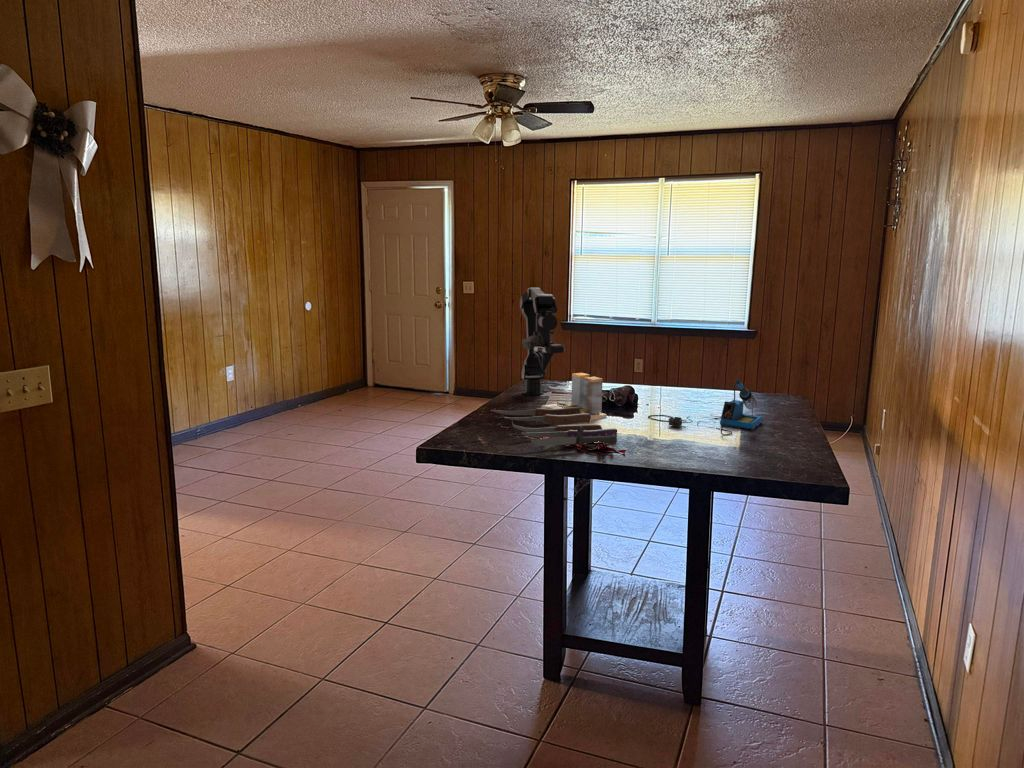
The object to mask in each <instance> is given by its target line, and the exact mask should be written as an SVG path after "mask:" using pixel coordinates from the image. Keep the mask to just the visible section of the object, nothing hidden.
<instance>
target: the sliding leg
mask: <svg viewBox="0 0 1024 768" xmlns="http://www.w3.org/2000/svg"><path fill="white" fill-rule="evenodd" d="M587 377H591V374H589V373H584V372H576V373H572V374H571V398H570V399H571V401H570V402H571V403H570V404H571V405H567V406H563V408H567V407H579V408H584V380H585V378H587Z"/></svg>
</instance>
